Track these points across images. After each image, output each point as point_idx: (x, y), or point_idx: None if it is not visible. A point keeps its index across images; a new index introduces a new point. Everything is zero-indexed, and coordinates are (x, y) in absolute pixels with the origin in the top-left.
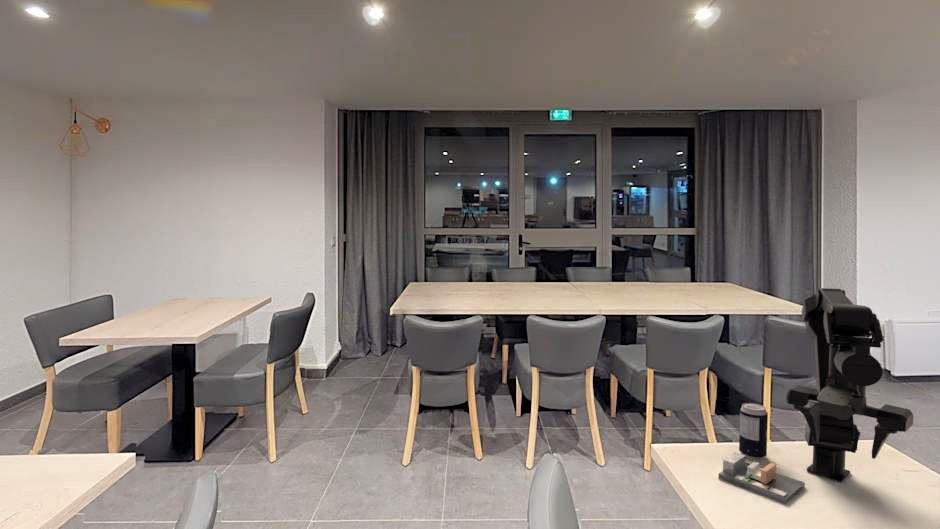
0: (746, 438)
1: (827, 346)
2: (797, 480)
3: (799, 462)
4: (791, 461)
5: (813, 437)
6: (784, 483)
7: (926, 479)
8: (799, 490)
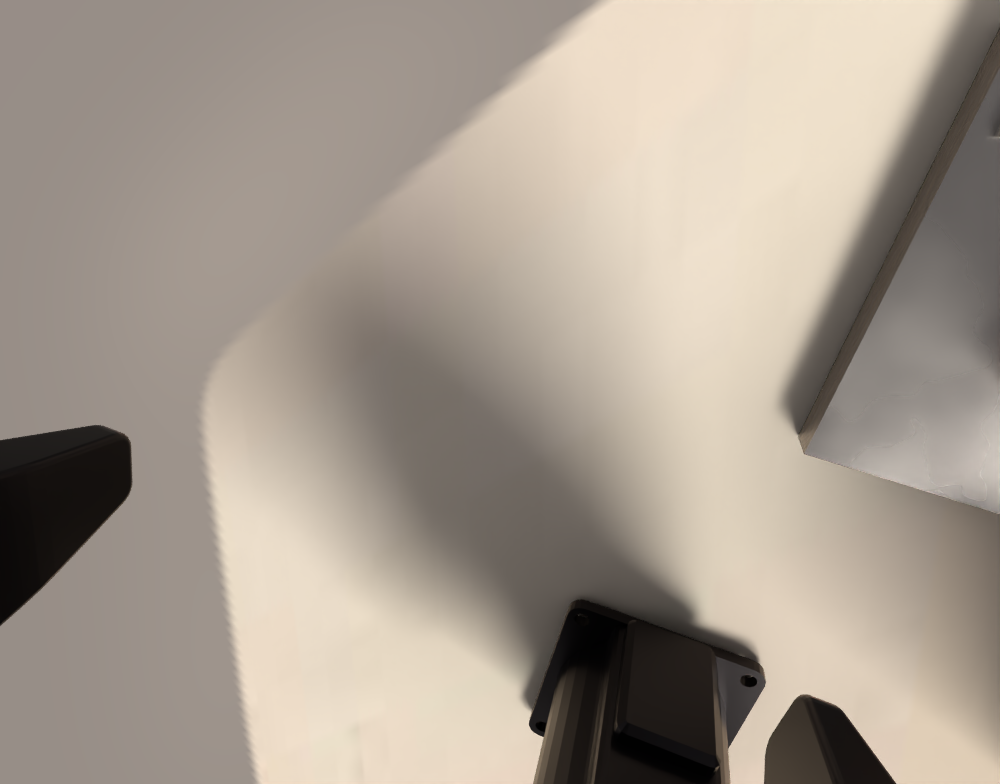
0: None
1: None
2: (857, 464)
3: None
4: None
5: (878, 762)
6: (982, 357)
7: (268, 759)
8: (848, 344)
